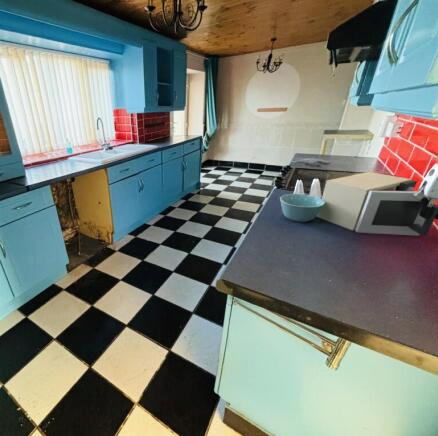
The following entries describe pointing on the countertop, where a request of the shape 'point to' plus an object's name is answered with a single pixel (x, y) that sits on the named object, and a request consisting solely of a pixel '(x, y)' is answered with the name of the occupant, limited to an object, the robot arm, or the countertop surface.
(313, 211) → the bowl
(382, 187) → the microwave
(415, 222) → the microwave door
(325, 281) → the countertop surface
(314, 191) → the shaker set
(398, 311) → the countertop surface
